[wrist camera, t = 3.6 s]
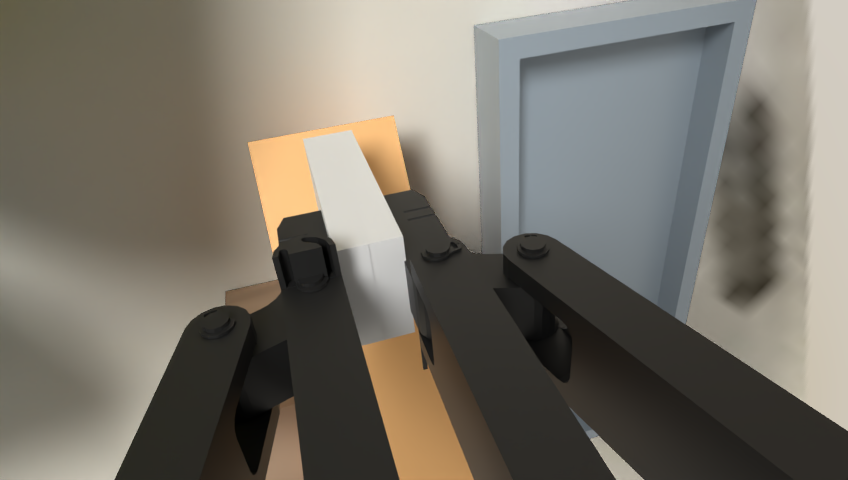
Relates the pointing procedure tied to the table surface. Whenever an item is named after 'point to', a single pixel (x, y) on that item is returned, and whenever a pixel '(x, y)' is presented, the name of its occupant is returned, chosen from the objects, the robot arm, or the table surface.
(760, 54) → the table surface
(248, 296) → the pocket block
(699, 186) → the slate tray
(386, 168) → the orange bar
